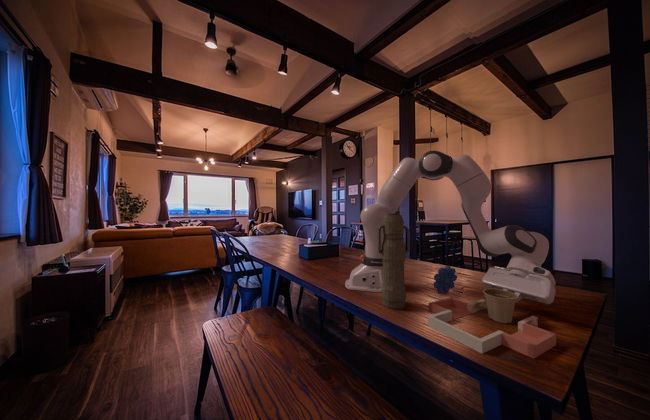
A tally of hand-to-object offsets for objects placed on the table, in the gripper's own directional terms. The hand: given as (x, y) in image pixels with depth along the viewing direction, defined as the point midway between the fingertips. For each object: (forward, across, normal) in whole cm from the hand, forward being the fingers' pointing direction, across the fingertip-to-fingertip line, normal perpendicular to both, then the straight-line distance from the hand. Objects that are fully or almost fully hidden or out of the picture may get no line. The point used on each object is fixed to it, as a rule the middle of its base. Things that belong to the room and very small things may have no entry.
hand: (507, 303), depth 81 cm
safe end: (+20, 0, -14) cm, 24 cm away
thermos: (+22, -26, -16) cm, 38 cm away
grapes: (+2, -25, +4) cm, 26 cm away
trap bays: (+13, 0, -7) cm, 15 cm away
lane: (+6, 0, 0) cm, 6 cm away
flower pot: (+7, 0, 0) cm, 7 cm away
